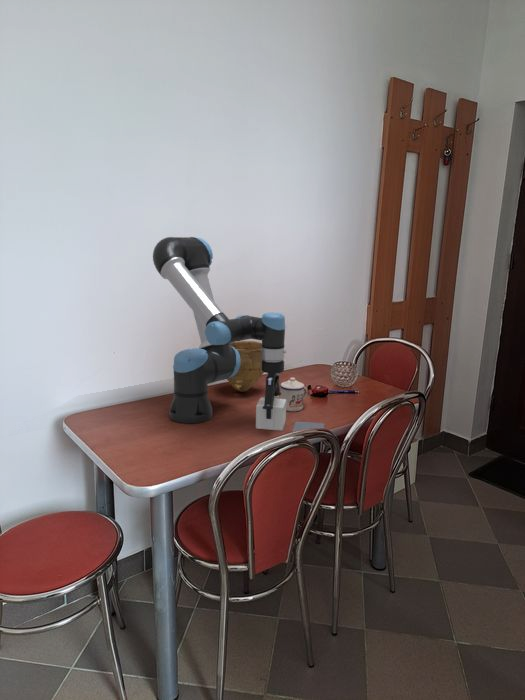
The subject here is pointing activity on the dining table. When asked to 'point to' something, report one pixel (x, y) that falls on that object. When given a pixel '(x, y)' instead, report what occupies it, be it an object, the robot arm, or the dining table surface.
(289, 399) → the teacup with lid
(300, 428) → the pad
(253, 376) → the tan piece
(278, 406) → the cover
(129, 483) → the dining table surface
